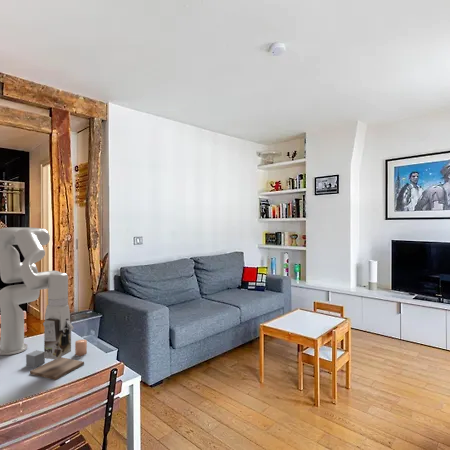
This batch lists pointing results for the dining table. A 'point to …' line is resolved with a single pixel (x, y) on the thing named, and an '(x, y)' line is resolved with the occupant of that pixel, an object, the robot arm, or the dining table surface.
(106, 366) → the dining table surface
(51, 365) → the walnut board
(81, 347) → the terracotta cylinder
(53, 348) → the coffee box
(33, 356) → the grey block
